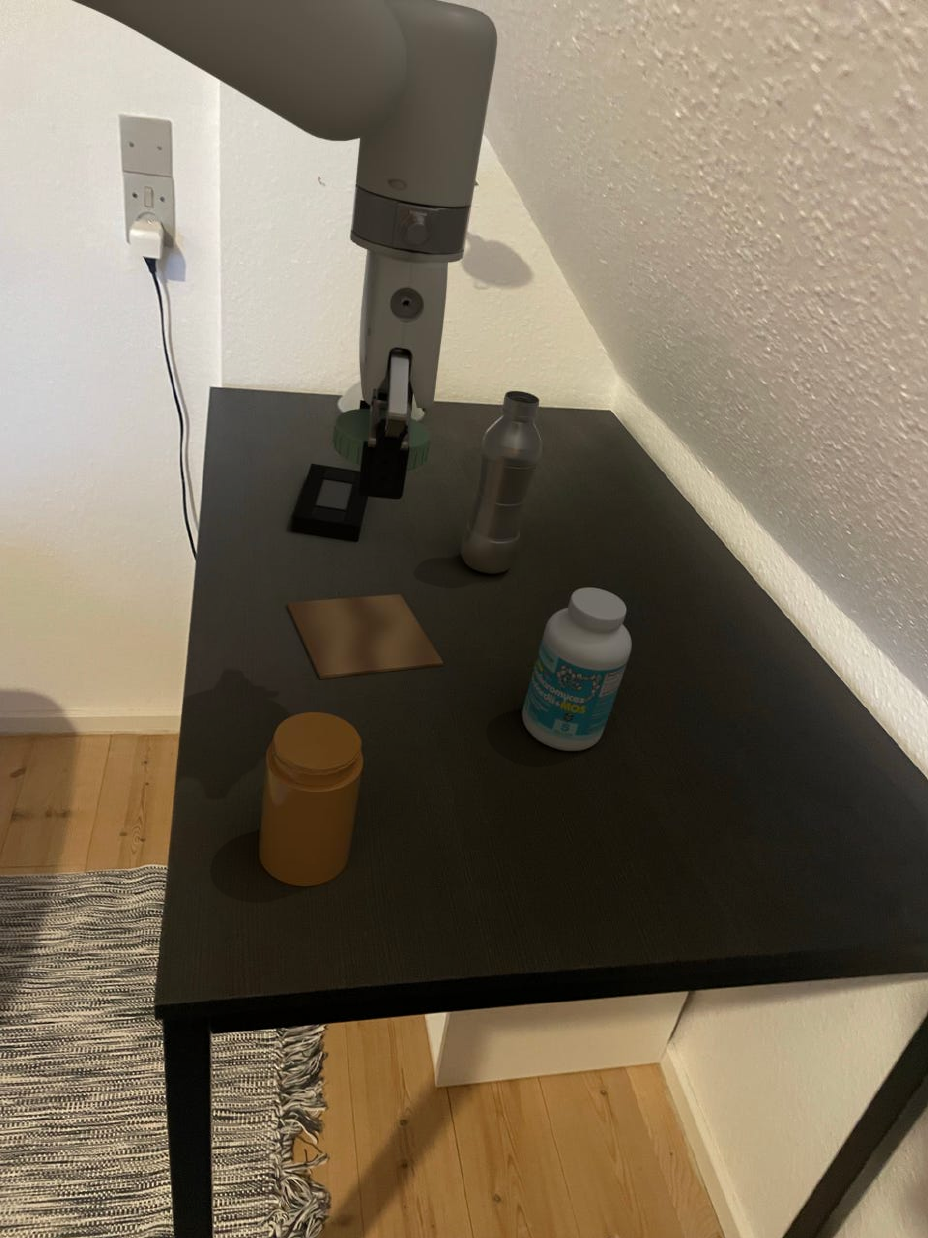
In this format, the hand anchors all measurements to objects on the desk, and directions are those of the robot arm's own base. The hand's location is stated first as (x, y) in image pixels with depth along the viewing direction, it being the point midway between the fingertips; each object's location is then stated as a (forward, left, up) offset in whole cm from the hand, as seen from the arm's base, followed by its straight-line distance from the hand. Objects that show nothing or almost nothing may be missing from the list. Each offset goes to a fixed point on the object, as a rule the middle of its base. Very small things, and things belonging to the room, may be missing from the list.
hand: (377, 471), depth 71 cm
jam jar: (-5, -17, -22) cm, 28 cm away
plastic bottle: (+19, +24, -22) cm, 38 cm away
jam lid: (0, 0, +3) cm, 3 cm away
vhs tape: (+3, +36, -22) cm, 42 cm away
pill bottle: (+19, -4, -22) cm, 29 cm away
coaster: (+3, +10, -22) cm, 24 cm away
